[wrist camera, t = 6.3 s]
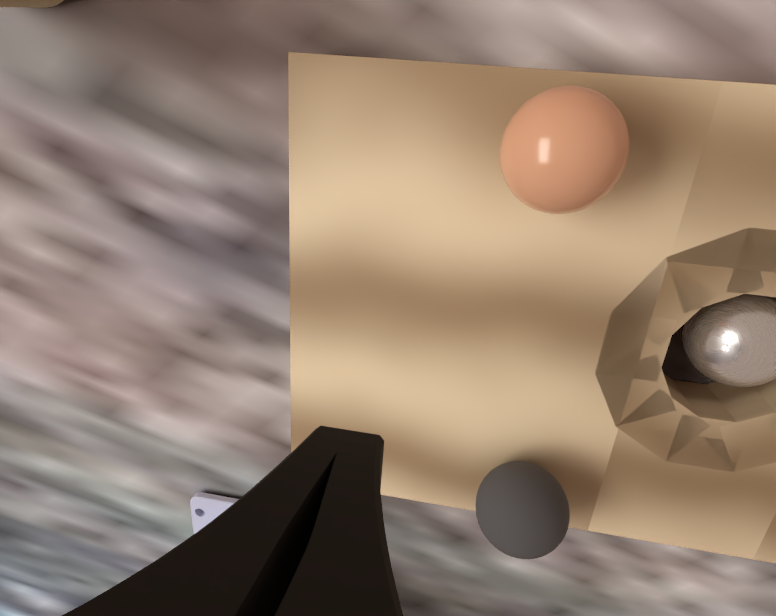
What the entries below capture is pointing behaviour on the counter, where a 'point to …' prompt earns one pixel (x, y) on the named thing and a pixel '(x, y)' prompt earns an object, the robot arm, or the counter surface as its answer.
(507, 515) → the black rubber ball
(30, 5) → the flower pot
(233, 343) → the counter surface
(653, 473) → the board
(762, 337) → the steel ball
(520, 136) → the terracotta ball
